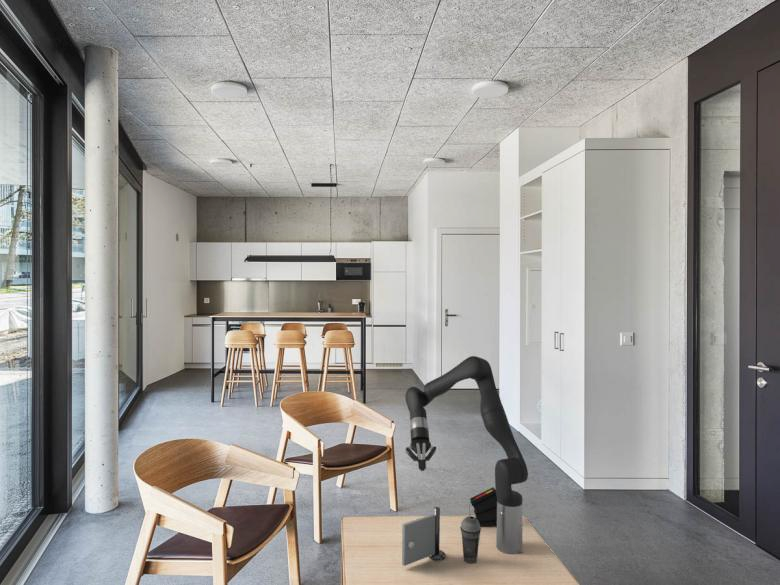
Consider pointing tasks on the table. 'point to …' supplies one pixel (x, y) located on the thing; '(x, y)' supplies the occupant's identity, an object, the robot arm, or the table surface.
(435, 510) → the hinge post
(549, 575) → the table surface
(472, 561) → the beverage cup
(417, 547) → the door
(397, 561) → the table surface
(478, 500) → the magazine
